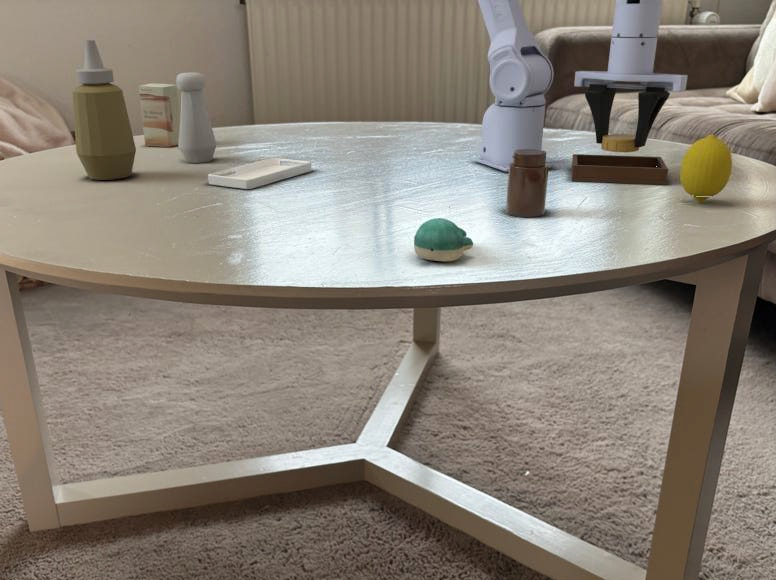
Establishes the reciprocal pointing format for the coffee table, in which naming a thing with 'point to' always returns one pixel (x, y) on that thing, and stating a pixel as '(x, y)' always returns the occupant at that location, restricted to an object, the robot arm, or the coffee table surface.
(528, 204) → the jar
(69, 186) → the coffee table surface
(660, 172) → the tray
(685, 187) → the lemon
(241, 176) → the phone case
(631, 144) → the jar lid
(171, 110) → the cream carton box
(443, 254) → the whale figurine
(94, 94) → the squeeze bottle
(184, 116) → the salt shaker
